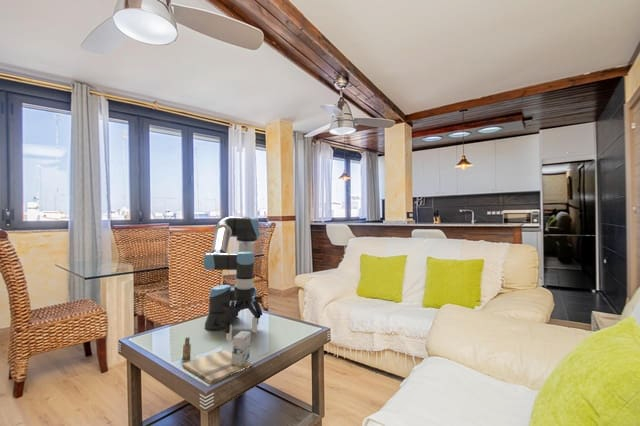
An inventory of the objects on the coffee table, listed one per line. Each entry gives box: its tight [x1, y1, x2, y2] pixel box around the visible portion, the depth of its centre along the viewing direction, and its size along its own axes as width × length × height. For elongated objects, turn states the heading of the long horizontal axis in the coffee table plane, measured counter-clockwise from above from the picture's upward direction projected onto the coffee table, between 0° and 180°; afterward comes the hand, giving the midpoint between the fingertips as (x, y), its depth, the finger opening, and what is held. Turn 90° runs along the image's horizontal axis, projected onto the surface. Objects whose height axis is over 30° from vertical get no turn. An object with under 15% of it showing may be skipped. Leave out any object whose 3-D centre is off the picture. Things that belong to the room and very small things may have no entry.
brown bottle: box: [182, 336, 192, 361], centre depth 144 cm, size 3×3×9 cm
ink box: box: [231, 330, 252, 366], centre depth 140 cm, size 9×5×12 cm, turn 168°
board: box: [182, 349, 253, 384], centre depth 137 cm, size 20×21×1 cm
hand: (242, 336), depth 140 cm, fingers open, 13 cm apart
